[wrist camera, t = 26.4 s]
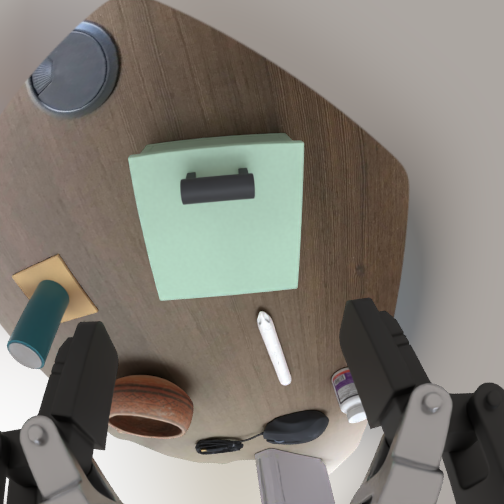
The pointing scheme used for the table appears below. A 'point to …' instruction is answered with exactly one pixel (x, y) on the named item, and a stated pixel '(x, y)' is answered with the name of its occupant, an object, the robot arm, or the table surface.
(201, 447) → the computer mouse
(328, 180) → the table surface
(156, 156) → the cool box lid
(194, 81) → the table surface
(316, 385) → the table surface
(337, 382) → the pill bottle
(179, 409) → the bowl
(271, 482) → the game console
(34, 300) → the can
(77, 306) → the coaster
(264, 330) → the marker
